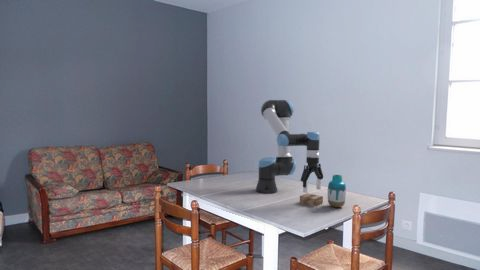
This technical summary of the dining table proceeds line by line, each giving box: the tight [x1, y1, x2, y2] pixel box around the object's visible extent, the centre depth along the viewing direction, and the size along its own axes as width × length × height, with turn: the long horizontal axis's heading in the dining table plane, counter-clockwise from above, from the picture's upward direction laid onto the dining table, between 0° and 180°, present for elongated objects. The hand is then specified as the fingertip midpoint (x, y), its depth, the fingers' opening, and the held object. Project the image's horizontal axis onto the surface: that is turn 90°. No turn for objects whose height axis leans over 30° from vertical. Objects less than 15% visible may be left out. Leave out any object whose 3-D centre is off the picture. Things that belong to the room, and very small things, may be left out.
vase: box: [327, 174, 347, 208], centre depth 217 cm, size 11×11×19 cm
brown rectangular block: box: [299, 192, 324, 207], centre depth 224 cm, size 11×9×5 cm
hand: (311, 190), depth 223 cm, fingers open, 13 cm apart
